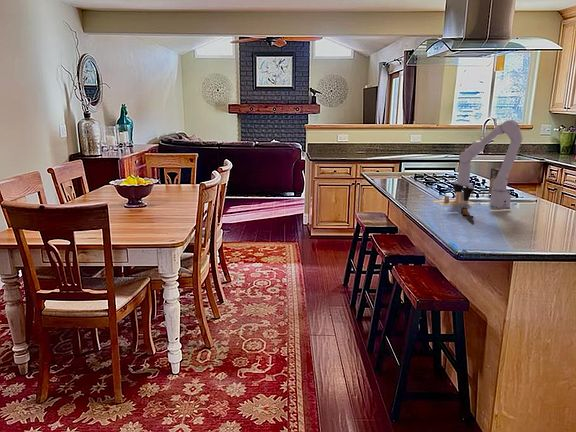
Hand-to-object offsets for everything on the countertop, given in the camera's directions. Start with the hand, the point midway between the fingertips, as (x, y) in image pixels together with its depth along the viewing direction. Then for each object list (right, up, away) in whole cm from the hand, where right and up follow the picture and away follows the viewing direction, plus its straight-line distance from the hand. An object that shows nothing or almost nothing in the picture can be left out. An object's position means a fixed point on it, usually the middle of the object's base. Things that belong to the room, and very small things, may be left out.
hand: (462, 199), depth 241 cm
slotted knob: (0, -1, 0) cm, 1 cm away
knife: (-10, -11, -33) cm, 36 cm away
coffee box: (+28, +2, +20) cm, 34 cm away
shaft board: (-5, -2, 0) cm, 5 cm away
